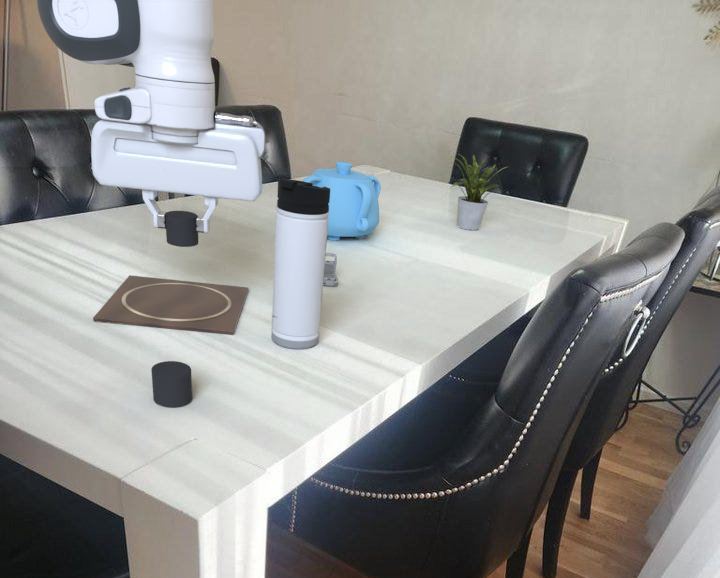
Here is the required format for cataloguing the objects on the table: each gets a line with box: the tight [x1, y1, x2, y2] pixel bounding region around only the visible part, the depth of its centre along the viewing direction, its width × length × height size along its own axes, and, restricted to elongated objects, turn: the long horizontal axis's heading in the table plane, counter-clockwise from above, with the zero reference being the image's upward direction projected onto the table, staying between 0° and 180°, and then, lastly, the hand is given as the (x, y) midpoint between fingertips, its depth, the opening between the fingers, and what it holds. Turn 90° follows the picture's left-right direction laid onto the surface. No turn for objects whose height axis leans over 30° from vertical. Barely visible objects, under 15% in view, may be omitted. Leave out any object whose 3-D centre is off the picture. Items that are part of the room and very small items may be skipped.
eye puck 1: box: [165, 210, 199, 248], centre depth 83 cm, size 4×4×4 cm
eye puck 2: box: [150, 360, 193, 408], centre depth 68 cm, size 4×4×4 cm
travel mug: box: [271, 178, 330, 350], centre depth 81 cm, size 6×7×20 cm
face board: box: [92, 274, 250, 336], centre depth 92 cm, size 18×18×1 cm
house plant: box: [450, 153, 511, 231], centre depth 150 cm, size 14×14×16 cm
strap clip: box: [323, 252, 339, 287], centre depth 108 cm, size 8×3×4 cm, turn 9°
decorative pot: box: [302, 161, 382, 241], centre depth 131 cm, size 16×16×14 cm
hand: (181, 229), depth 83 cm, fingers closed on eye puck 1, 4 cm apart
